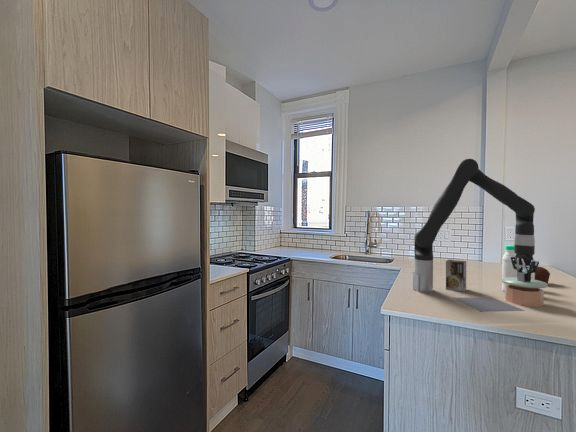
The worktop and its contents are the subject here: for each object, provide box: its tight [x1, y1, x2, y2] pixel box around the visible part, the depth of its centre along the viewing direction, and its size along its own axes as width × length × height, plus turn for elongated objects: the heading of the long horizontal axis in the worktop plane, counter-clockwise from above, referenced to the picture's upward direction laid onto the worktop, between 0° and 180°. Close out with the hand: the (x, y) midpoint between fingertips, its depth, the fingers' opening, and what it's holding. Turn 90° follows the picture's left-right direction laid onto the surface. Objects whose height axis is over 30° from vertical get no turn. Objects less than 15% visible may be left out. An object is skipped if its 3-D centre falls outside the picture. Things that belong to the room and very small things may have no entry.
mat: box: [453, 296, 526, 312], centre depth 138 cm, size 20×20×1 cm
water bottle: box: [501, 244, 517, 292], centre depth 160 cm, size 7×7×25 cm
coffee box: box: [445, 259, 467, 292], centre depth 164 cm, size 9×6×16 cm
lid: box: [501, 272, 549, 289], centre depth 141 cm, size 17×17×5 cm
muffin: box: [535, 266, 551, 285], centre depth 178 cm, size 12×11×10 cm
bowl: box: [504, 284, 545, 308], centre depth 141 cm, size 14×14×7 cm
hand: (523, 279), depth 141 cm, fingers closed on lid, 3 cm apart
